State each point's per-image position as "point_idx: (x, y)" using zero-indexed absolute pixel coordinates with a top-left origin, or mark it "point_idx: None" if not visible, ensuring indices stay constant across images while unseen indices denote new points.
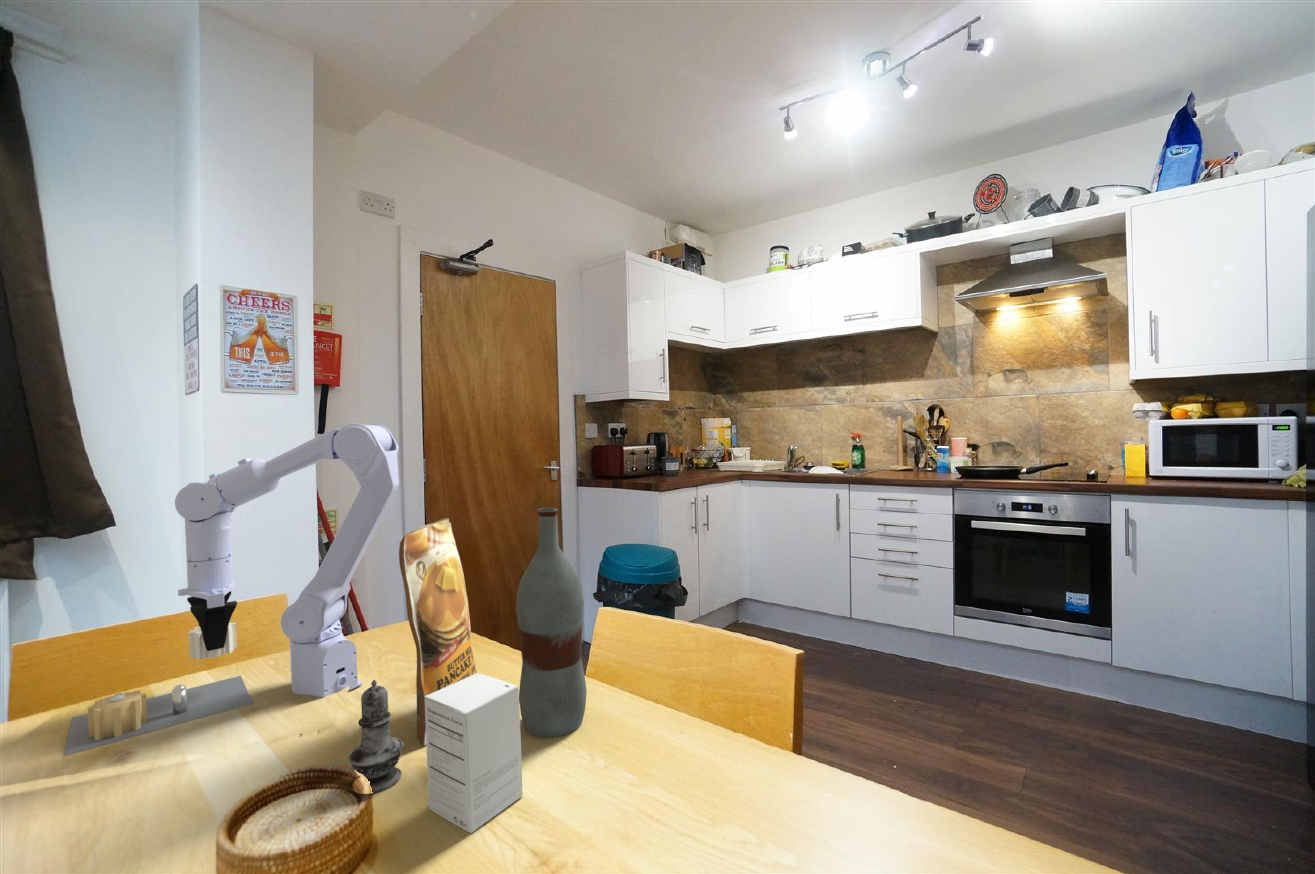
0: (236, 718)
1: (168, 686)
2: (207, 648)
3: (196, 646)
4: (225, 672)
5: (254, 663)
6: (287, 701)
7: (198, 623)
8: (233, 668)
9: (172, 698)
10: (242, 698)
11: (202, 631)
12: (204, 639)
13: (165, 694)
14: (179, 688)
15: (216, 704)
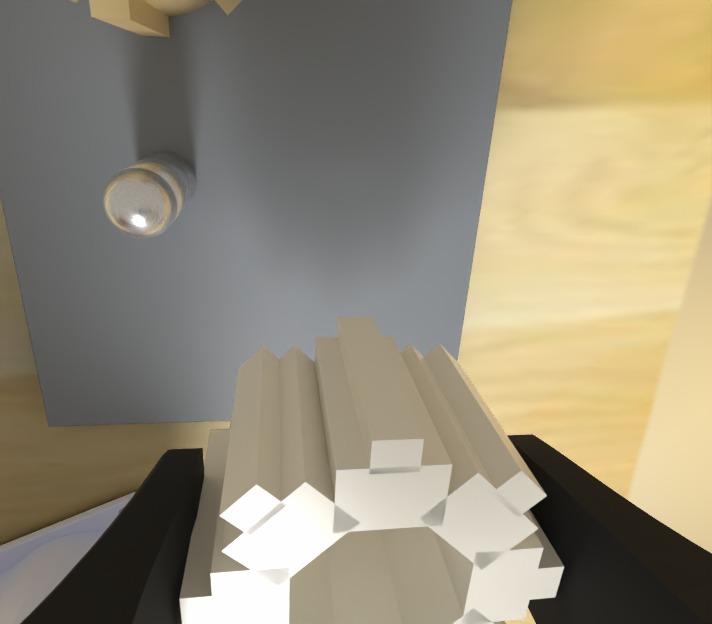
0: (7, 354)
1: (661, 167)
2: (156, 466)
3: (250, 411)
4: (609, 362)
5: (607, 449)
6: (67, 504)
7: (642, 511)
8: (626, 388)
9: (144, 162)
10: (143, 400)
11: (52, 594)
12: (116, 519)
13: (488, 145)
14: (106, 207)
15: (147, 314)
